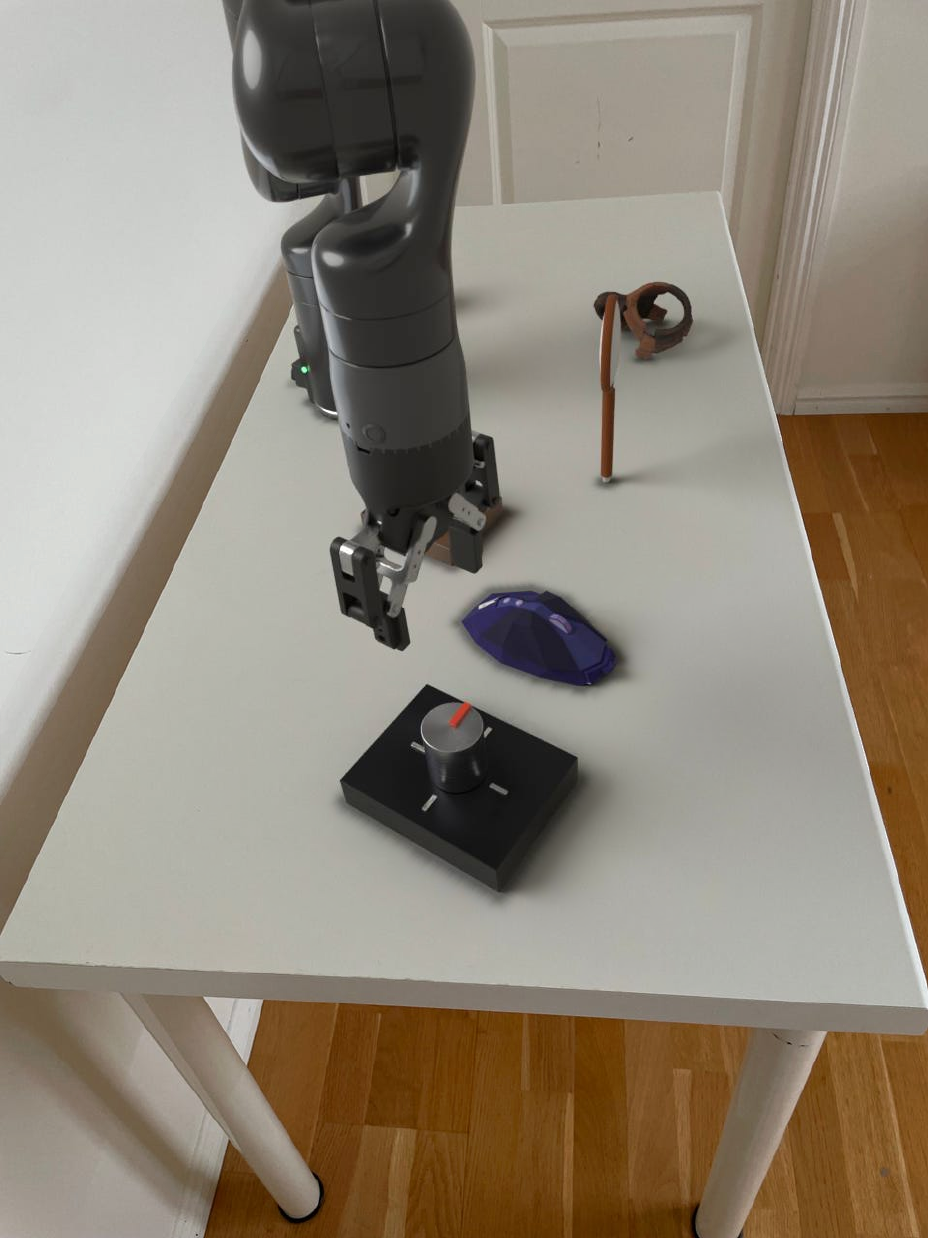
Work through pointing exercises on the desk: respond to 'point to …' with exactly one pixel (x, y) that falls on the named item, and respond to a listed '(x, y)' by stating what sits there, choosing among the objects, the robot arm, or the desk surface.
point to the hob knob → (455, 747)
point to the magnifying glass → (609, 380)
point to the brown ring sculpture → (649, 316)
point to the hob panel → (469, 821)
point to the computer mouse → (540, 637)
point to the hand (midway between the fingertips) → (432, 604)
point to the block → (442, 545)
